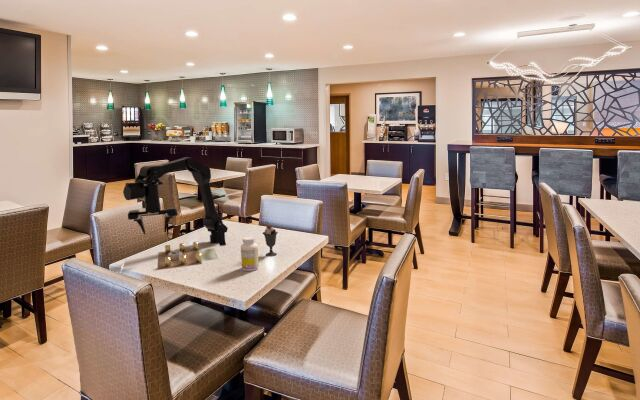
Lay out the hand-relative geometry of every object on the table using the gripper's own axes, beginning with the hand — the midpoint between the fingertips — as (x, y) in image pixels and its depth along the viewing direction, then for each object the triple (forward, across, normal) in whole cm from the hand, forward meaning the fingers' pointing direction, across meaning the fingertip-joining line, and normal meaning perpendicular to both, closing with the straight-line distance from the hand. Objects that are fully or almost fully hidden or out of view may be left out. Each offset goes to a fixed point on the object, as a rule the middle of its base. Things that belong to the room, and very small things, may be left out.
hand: (155, 233), depth 168 cm
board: (+13, -11, 0) cm, 17 cm away
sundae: (+13, -47, +8) cm, 50 cm away
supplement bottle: (+13, -35, +22) cm, 44 cm away
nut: (+12, -7, 0) cm, 14 cm away
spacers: (+12, -10, 0) cm, 16 cm away
